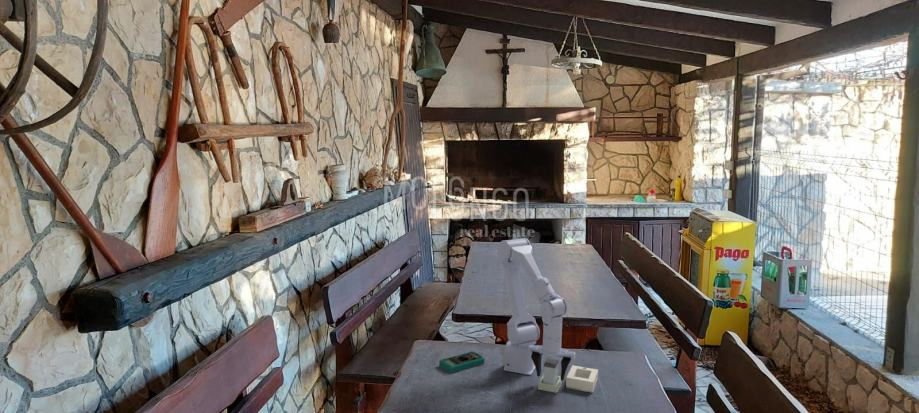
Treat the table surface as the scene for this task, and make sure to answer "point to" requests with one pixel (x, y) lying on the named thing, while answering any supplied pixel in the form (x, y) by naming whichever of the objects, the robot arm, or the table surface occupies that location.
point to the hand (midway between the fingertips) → (550, 377)
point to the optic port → (582, 379)
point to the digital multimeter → (461, 362)
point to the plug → (550, 371)
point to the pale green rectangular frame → (549, 385)
